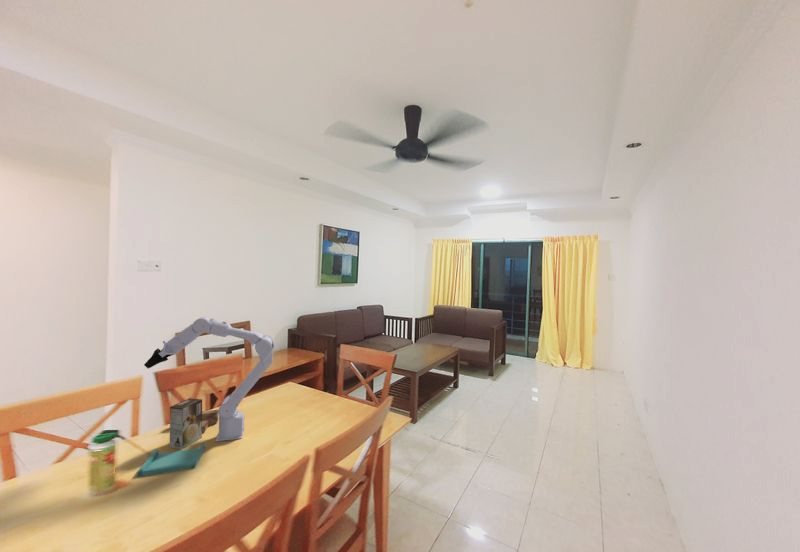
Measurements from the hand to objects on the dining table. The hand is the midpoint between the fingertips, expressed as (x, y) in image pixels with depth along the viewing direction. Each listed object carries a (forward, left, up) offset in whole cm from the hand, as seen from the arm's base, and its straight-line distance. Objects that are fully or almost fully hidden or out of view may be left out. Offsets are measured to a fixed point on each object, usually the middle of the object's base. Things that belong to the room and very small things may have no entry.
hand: (150, 363), depth 119 cm
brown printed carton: (-13, -10, -32) cm, 36 cm away
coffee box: (-13, +1, -32) cm, 35 cm away
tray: (-13, +13, -32) cm, 37 cm away
